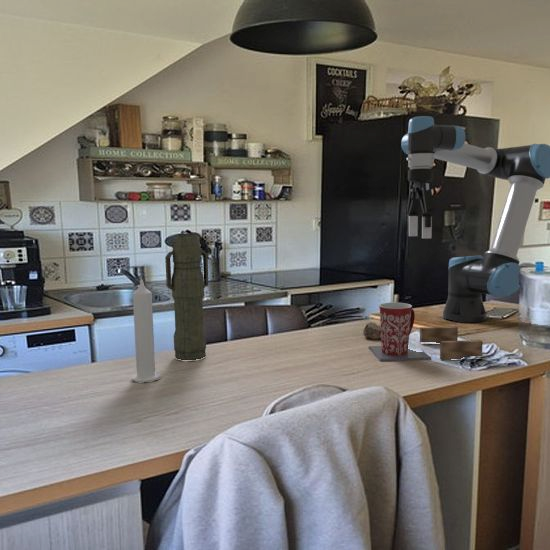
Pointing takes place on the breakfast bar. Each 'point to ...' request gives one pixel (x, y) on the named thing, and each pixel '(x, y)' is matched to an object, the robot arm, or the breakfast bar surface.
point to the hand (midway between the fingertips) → (419, 237)
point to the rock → (372, 331)
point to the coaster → (409, 356)
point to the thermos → (188, 295)
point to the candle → (144, 336)
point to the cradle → (451, 342)
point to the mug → (396, 327)
